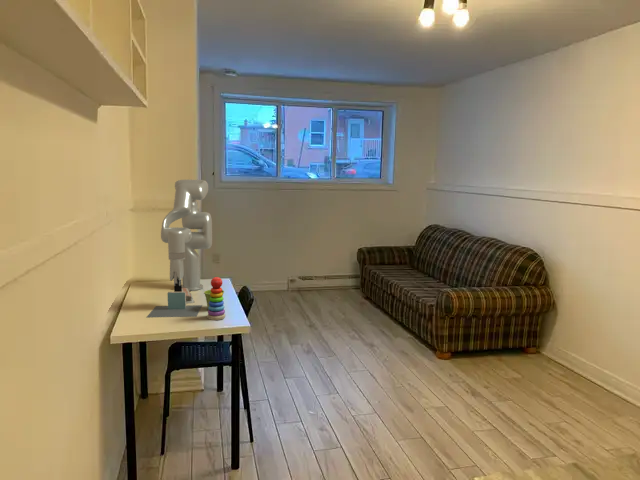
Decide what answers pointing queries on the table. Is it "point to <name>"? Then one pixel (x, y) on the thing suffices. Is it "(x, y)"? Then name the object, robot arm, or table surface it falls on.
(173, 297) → the tile
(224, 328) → the table surface
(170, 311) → the mat
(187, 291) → the packaged product
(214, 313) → the stacking toy
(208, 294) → the plant pot
